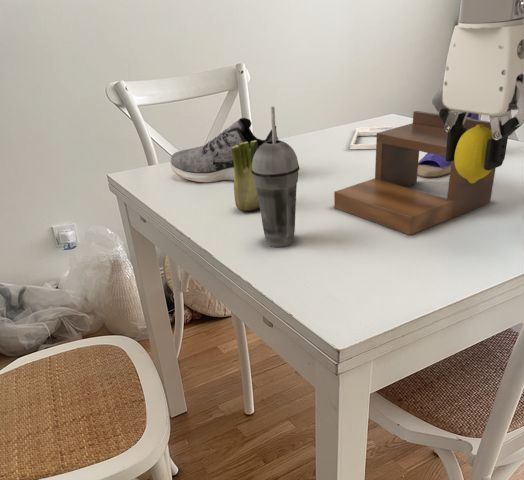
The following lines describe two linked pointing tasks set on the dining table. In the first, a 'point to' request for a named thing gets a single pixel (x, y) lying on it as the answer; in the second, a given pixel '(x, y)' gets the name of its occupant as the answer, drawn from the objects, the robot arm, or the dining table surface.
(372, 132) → the photo frame
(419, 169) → the sandal
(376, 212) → the stand
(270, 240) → the beverage cup
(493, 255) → the dining table surface
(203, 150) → the athletic shoe
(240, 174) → the fennel bulb
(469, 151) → the lemon
